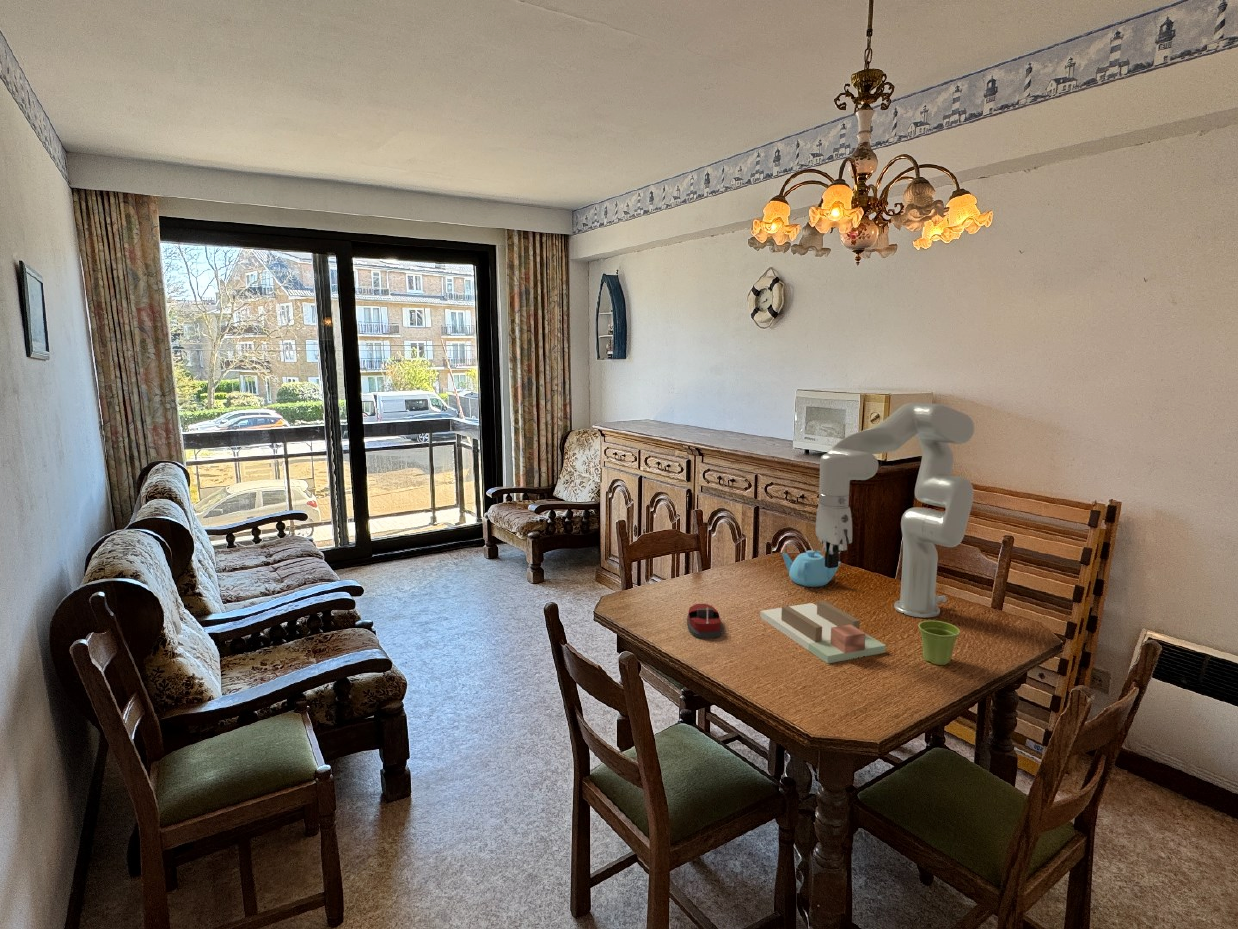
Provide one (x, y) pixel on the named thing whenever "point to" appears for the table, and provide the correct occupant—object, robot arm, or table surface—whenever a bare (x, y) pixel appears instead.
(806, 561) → the teapot
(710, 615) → the bumper car
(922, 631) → the plant pot
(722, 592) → the table surface
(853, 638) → the block
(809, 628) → the board with rails
